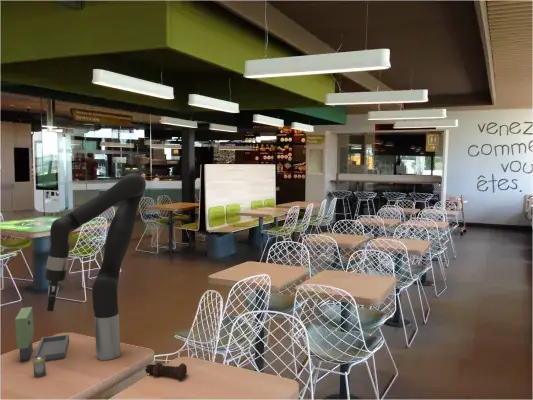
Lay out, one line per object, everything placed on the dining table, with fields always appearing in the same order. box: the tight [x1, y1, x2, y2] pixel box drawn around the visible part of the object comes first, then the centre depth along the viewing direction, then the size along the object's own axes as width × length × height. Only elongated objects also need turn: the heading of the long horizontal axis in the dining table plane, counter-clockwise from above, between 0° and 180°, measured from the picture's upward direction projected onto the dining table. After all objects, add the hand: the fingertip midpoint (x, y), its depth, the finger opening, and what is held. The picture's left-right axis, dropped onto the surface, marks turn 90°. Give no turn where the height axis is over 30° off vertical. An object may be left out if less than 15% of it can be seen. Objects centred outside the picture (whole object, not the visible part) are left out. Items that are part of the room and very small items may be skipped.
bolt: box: [144, 362, 188, 381], centre depth 169 cm, size 6×5×15 cm
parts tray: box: [34, 334, 70, 362], centre depth 192 cm, size 11×20×2 cm, turn 19°
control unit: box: [14, 306, 35, 363], centre depth 186 cm, size 5×14×18 cm, turn 19°
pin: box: [32, 355, 47, 379], centre depth 170 cm, size 4×4×7 cm
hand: (50, 307), depth 182 cm, fingers open, 8 cm apart
